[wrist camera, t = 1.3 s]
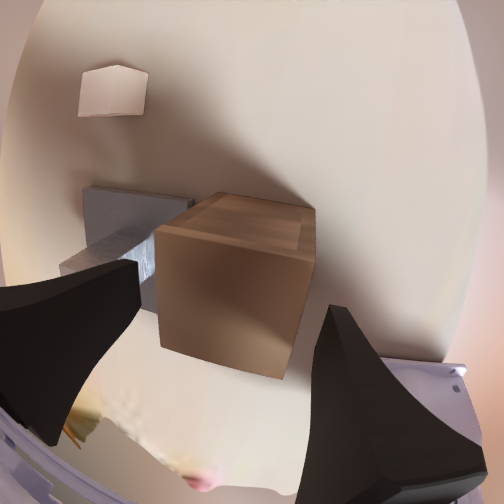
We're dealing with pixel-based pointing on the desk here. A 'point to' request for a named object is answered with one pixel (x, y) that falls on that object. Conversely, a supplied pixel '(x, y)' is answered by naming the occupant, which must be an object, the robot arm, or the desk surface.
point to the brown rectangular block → (234, 281)
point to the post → (124, 232)
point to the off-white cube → (112, 92)
